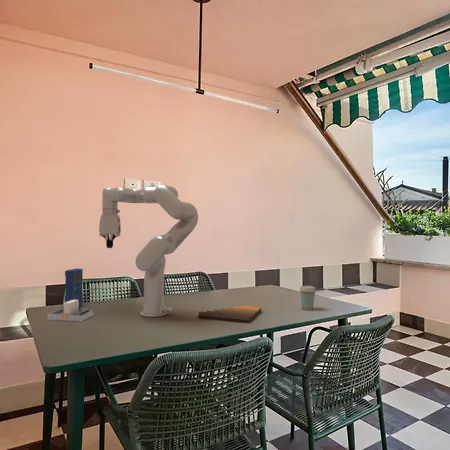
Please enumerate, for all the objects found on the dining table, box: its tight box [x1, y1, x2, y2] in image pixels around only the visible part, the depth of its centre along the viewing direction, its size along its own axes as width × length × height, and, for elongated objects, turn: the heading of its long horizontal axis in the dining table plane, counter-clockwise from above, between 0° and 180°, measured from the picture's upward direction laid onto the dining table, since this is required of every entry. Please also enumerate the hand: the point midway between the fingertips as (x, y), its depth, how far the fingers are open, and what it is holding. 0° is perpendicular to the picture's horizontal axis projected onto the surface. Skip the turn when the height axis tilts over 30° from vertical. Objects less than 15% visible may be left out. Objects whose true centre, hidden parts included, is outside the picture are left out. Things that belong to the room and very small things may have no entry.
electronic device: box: [64, 268, 84, 307], centre depth 201 cm, size 10×5×20 cm, turn 168°
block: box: [63, 300, 80, 315], centre depth 179 cm, size 3×8×7 cm, turn 173°
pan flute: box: [197, 304, 262, 324], centre depth 188 cm, size 25×3×25 cm
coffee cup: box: [299, 285, 317, 311], centre depth 203 cm, size 8×8×12 cm
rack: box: [46, 307, 94, 322], centre depth 179 cm, size 17×11×4 cm
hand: (109, 247), depth 195 cm, fingers closed
